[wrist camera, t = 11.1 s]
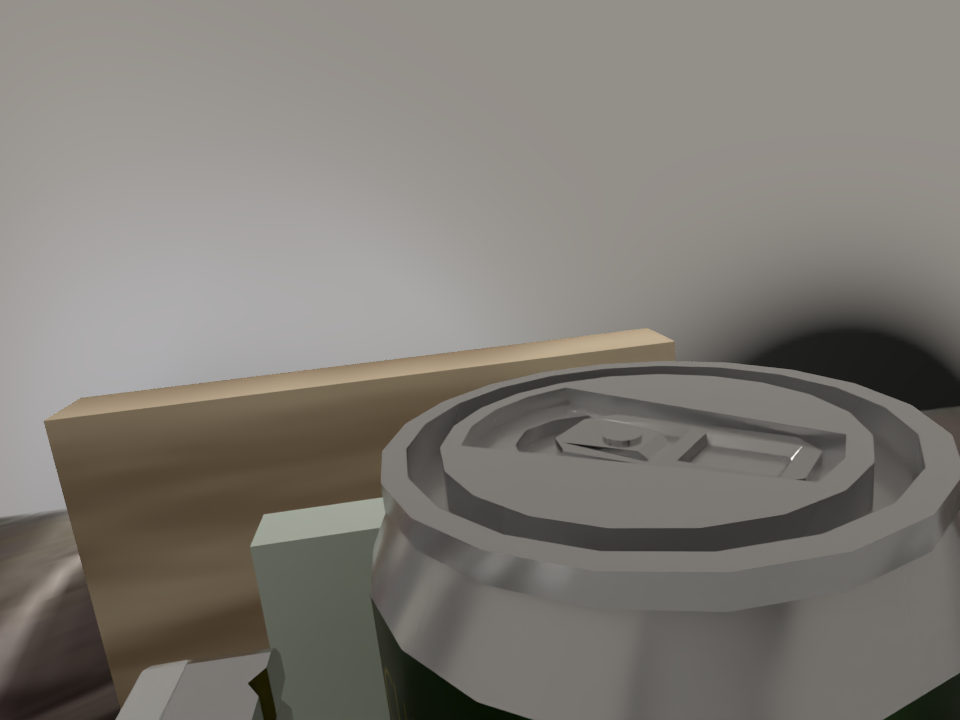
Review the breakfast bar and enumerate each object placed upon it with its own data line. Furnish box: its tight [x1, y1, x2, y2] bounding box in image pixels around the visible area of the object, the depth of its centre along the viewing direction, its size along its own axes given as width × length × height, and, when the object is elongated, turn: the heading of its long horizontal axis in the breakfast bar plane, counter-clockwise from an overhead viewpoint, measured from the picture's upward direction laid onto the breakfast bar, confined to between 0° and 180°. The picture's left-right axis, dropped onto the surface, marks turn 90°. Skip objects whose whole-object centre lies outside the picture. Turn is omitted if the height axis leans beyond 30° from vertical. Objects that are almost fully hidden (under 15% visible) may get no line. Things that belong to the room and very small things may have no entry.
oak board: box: [44, 328, 676, 709], centre depth 19 cm, size 2×16×10 cm, turn 97°
